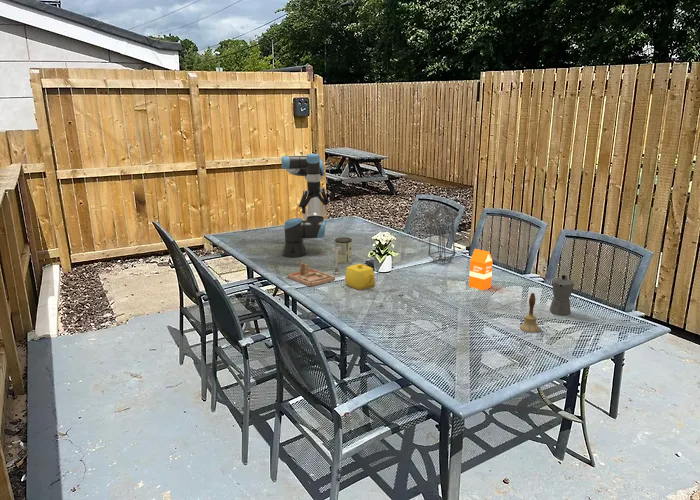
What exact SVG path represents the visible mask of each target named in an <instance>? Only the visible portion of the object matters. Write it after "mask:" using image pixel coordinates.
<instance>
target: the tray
mask: <svg viewBox="0 0 700 500" xmlns="http://www.w3.org/2000/svg"><path fill="white" fill-rule="evenodd" d="M308 271H309V273H313V272H317V273H320V274H323V275H326V276H329V278H327V279H323V280H319V281H316V282H312V283H311V282H308V281H305V280H303V279H300V278H299V276H302V275H300V270H298V271H296V272H295V271H294V272H291V273H287V278H288V279H290V280H292V281H295V282H297V283H300V284H302V285H304V286H307V285H308V287H310V288H311V287H312V288H313V287H315V286H319V285H323V284H327V283H330V282H333V281H335V280H336V277H335V276H334V275H331V274H328V273H326V272H323V271H319V270H317V269H314V268H312V267H311V268H308ZM318 278H321V277H318V276H312V277H308V279H311V280H315V279H318Z"/></svg>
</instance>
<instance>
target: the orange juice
mask: <svg viewBox="0 0 700 500" xmlns="http://www.w3.org/2000/svg"><path fill="white" fill-rule="evenodd" d="M469 263H470V264H469V279H468V281H469V282H468V287H470V288H473V289H477V290H481V291H485V290H488V289H489V288H491V287H492V278H493V277H492V276H493V259H492V256H491V253H490V251H487V250H482V249H478V248H474V250H473V252H472V255H471V257H470V260H469Z"/></svg>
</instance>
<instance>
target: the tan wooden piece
mask: <svg viewBox="0 0 700 500" xmlns="http://www.w3.org/2000/svg"><path fill="white" fill-rule="evenodd" d="M299 267H300V268H299V271H300V275H302V276H299V278H300V279H303V280H305V281H308V282H311V283H312V282H316V281H319V280H323V279H327V278H329V276H326V275H323V274H320V273H317V272H313V273H309V271H308V269H309V263H305V262H300V263H299ZM312 276H318V277H321V278H318V279H315V280H311V279H308V277H312Z"/></svg>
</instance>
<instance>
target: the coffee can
mask: <svg viewBox="0 0 700 500" xmlns="http://www.w3.org/2000/svg"><path fill="white" fill-rule="evenodd" d="M334 241H335V242H334V244H335V247H339V246H340V247H341V249H340V250H338V264H350V263H352V262H353V252H352V249H353V246H352V245H353V243H352V242H353V239H352V238H350V237H337V238H335V239H334ZM335 247H334V248H335Z"/></svg>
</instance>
